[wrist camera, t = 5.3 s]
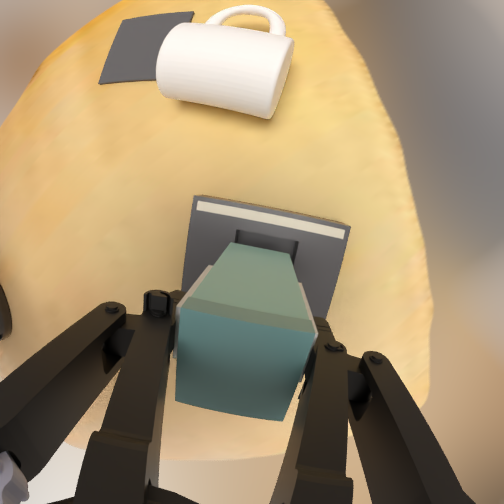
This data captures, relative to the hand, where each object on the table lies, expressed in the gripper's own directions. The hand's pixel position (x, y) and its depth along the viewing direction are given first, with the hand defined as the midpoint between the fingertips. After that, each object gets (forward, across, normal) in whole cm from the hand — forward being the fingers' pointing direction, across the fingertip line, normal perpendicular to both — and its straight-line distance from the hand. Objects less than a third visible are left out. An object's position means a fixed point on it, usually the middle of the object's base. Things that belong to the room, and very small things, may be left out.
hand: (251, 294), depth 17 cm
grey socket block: (+10, +1, 0) cm, 10 cm away
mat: (+10, -17, +22) cm, 30 cm away
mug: (+10, -5, +19) cm, 22 cm away
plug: (+4, 0, 0) cm, 4 cm away
